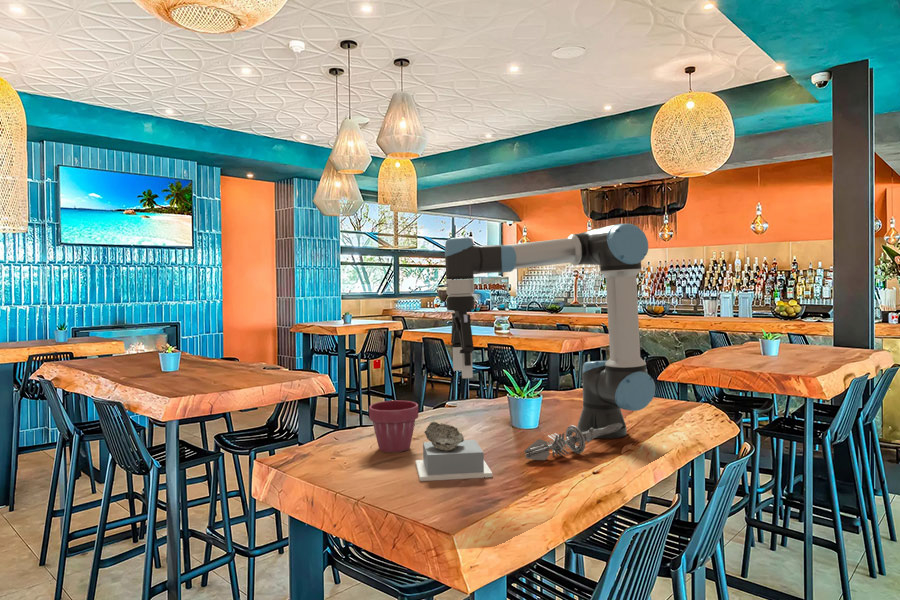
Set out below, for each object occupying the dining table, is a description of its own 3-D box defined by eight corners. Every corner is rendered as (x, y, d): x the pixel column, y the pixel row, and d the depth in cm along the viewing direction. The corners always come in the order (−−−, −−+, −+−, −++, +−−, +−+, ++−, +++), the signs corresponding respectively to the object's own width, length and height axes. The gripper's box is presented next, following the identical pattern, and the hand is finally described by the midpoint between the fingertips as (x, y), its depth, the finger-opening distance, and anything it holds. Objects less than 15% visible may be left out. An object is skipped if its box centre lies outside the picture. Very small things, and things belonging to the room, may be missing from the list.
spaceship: (634, 421, 168) (615, 406, 174) (535, 451, 152) (518, 434, 158) (628, 443, 171) (610, 428, 178) (531, 475, 155) (514, 457, 162)
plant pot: (376, 457, 163) (376, 411, 162) (364, 445, 176) (364, 402, 175) (425, 451, 168) (424, 407, 168) (410, 439, 181) (409, 398, 181)
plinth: (481, 460, 159) (481, 438, 159) (492, 477, 145) (492, 452, 145) (415, 463, 157) (415, 441, 156) (419, 481, 143) (419, 456, 143)
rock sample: (428, 438, 143) (436, 409, 150) (417, 453, 149) (425, 424, 155) (467, 455, 145) (473, 425, 151) (455, 469, 150) (461, 439, 157)
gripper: (439, 295, 170) (442, 368, 170) (454, 297, 145) (456, 382, 146) (465, 294, 171) (467, 366, 172) (484, 295, 146) (486, 380, 147)
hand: (462, 374), depth 159 cm, fingers open, 13 cm apart
